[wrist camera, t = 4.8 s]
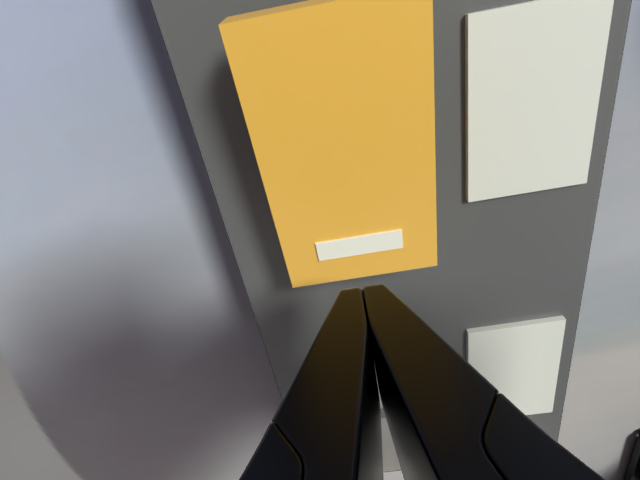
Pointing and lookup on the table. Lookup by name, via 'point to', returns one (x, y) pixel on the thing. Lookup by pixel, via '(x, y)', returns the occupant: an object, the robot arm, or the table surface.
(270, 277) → the rocker switch panel
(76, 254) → the table surface
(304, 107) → the block
